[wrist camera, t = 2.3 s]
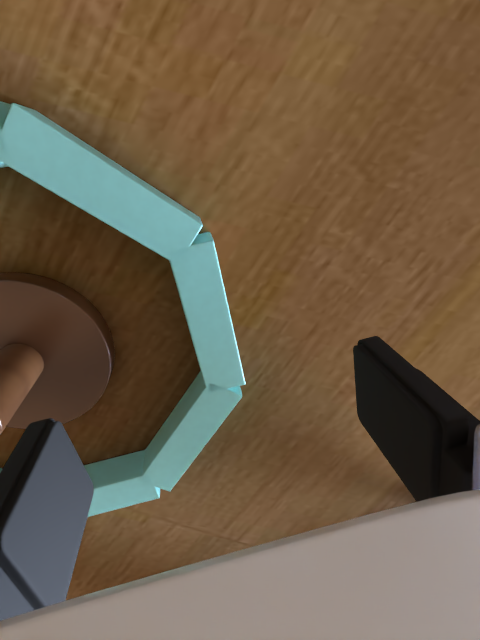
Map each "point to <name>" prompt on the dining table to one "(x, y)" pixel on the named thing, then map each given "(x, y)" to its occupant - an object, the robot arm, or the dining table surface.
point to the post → (49, 351)
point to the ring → (191, 279)
